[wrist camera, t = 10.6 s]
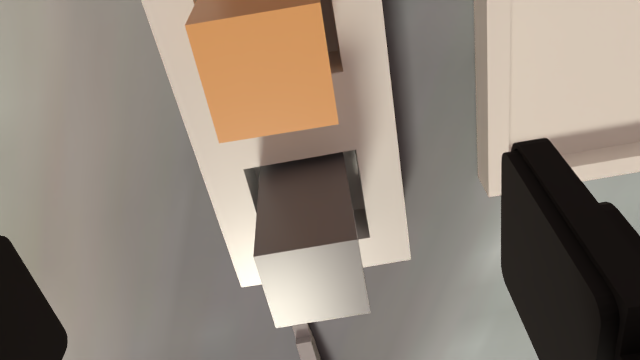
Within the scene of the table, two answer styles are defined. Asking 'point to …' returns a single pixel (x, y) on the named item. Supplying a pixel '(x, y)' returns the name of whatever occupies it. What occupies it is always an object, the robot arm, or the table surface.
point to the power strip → (301, 133)
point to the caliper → (305, 342)
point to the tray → (558, 83)
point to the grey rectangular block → (308, 242)
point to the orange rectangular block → (262, 66)
